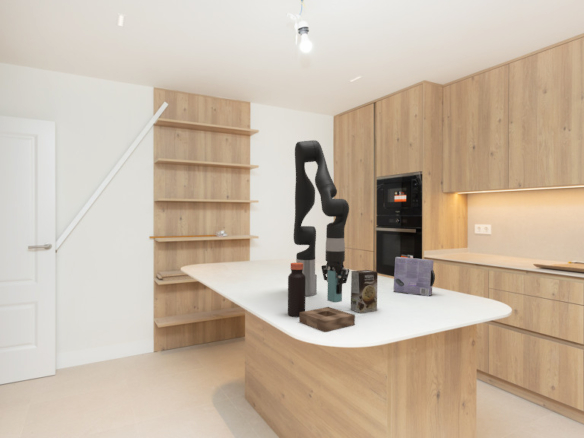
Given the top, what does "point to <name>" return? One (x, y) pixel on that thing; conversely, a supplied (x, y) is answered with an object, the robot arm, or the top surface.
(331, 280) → the peg
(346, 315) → the socket block
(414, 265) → the cake pan box
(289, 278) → the bottle
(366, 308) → the coffee box
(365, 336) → the top surface
